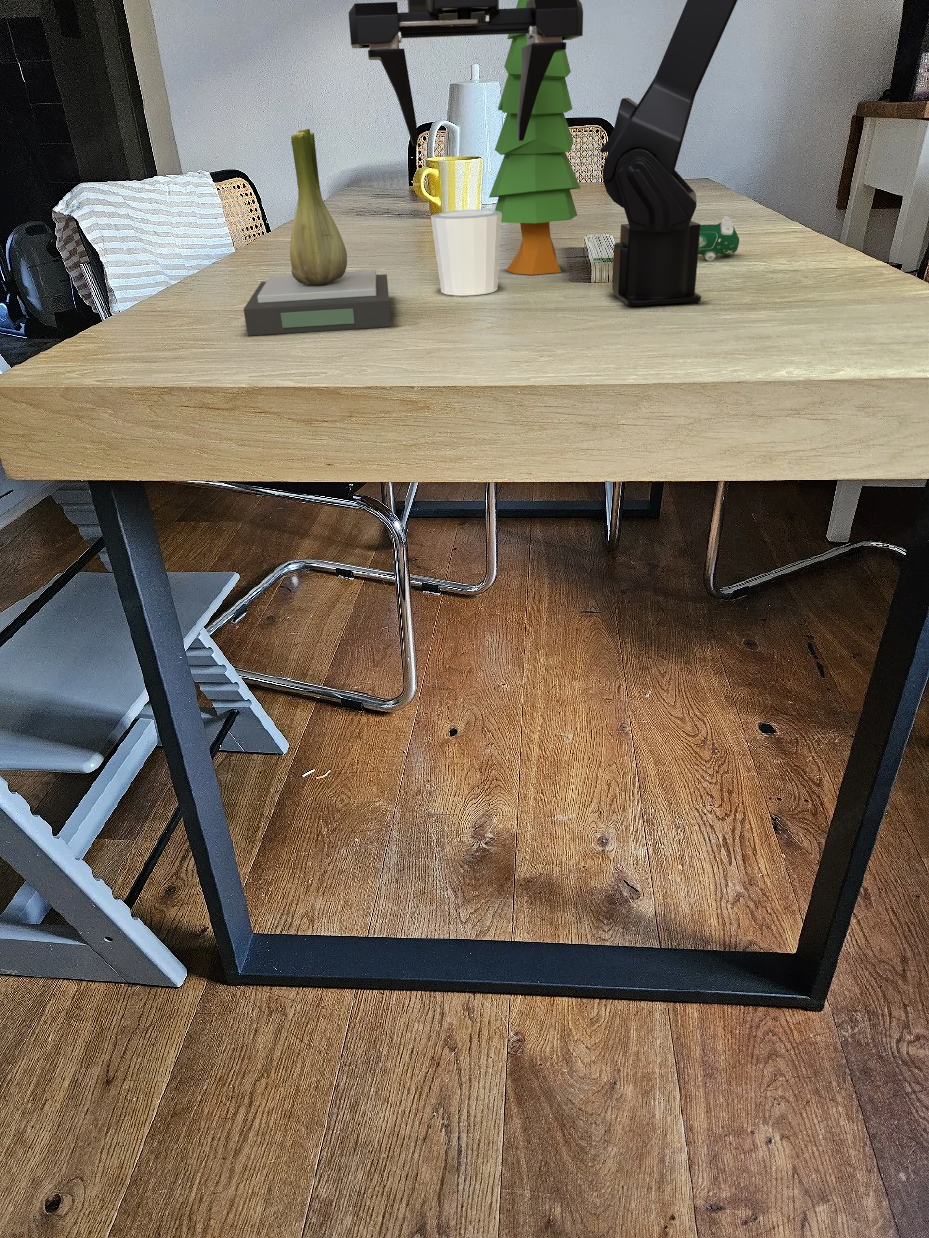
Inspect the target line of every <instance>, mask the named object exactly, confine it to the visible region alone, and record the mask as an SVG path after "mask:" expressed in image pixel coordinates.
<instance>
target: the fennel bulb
mask: <svg viewBox="0 0 929 1238" xmlns="http://www.w3.org/2000/svg"><path fill="white" fill-rule="evenodd" d="M290 136H291V137H290V139H291V140H290V143H291V148H292V154H293V160H294V161H293V162H294V169H295V176H296V183H297V193H298V196H297V197H298V198H297V204H296V209H295V212H294V213H295V214H294V218H293V223H292V228H291V234H290V242H289V244H290V245H289V254H290V255H289V258H290V261H289V262H290V266H291V271H290V272H291V275H293V277H294V278H295V279H296V280H297V281H298V282H299V283H302V284H309V285H314V286H318V285H322V284H326V283H329V282H333V281H335V280H337V279H339V278H341V277H342V276H343V275H344V273H345V272H346V271H347V267H348V266H347V265H348V253H347V249H346V245H345V243H344V240H343V238H342V235H341V233H340V231H339V228H338V227H337V225H336V222H335V220H334V219H333V216H332V214H330V212H329V209H328V207H327V206H326V204H325V202H324V201H325V200H324V199H323V197H322V191H321V185H320V178H319V168H318V159H317V149H316V139H315V133H314V132H311V130H310V128H304V129H300V130H297V132H296V133H293V134H292V135H290Z"/></svg>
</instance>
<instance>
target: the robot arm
mask: <svg viewBox="0 0 929 1238" xmlns="http://www.w3.org/2000/svg"><path fill="white" fill-rule="evenodd" d="M738 1H739V0H686V2H685V5H684V7H683V9H682V12H681V14H680V15H679V16H680V17H679V18H678V22H677V24H676V26H675V28H674V31H673V32H672V36H671V38H670V40H669V43H668V45H667V47H666V50H665V53H664V54H663V57H662V60H661V62H660V64H659V66H658V69H657V70H656V71H657V72H656V73H655V76H654V78H653V80H652V81H651V82H650V84H649V86H648V88H647V89H646V91H645V92H644V94H643V96H642V97H641V99H640V100H639V102H638V103H637V102H636V101H634V100H632V99H631V98H630V97H623V98H621V99H620V103H619V106H618V111H617V113H616V117H615V118H616V119H615V123H614V126H613V129H612V132H611V134H610V136H609V138H608V139H607V140H606V142H605V143H604V144H603V145H602V147H600V149H599V152H600V153H601V154H605V153H607V155H606V157H605V159H604V161H603V166H602V182H603V185H604V189H605V191H606V194H607V195H608V196H609V197H610V199H611V201H613V202H614V203H615V204H617V205H618V206H619V207H621V208H622V209H623V211H624V213H625V216H626V219H627V223H621V224H620V232H619V233H620V236H619V242H615V243H614V244H613V254H612V255H613V257H612V259H613V261H612V279H611V280H612V281H611V282H612V285H611V288H612V289H611V291H612V294H613V295H614V296H615V297H616V298H617V299H619V300H620V301H622V302H623V303H624V304H625V305H627V306H629V307H637V306H653V305H654V306H655V305H667V304H668V305H670V304H687V303H699V302H700V303H701V300H702V295H701V294H699V293H698V292H696V284H697V283H696V282H697V272H698V262H699V261H698V260H699V254H698V249H699V237H700V225H702V224H701V223H698V222H695V221H693V220H692V219H693V216H694V215H695V211H696V209H697V205H698V204H697V193H696V191H695V190H694V189H693V188H692V187H691V186H690V185H689V184H688V182H687V181H686V180H685V179H684V178H683V177H682V175H681V174H679V172H678V171H677V170H676V167H677V162H678V159H679V156H680V152H681V150H682V149H681V148H682V145H683V141H684V138H685V134H686V131H687V126H688V124H689V119H690V116H691V112H692V108H693V105H694V102H695V98H696V95H697V92H698V90H699V88H700V85H701V84H702V82H703V79H704V77H705V74H706V72H707V70H708V68H709V66H710V63H711V61H712V59H713V57H714V55H715V53H716V50H717V49H718V46H719V43H720V41H721V39H722V36H723V34H724V32H725V30H726V28H727V25H728V23H729V21H730V19H731V16H732V15H733V12H734V10H735V8H736V5H737V3H738ZM398 7H399V6H398V1H383V2H382V1H381V2H356V3H355V2H354V3H353V5H352V6H351V8H350V9H349V11H348V26H349V35H350V36H349V37H350V45H351V48H352V49H368V50H367V56H368V60H369V61H380V63H381V65H382V68H383V70H384V71H385V73H386V75H387V78H388V79H389V82H390V84H391V86H392V89H393V90H394V93H395V96H396V98H397V101H398V105H399V108H400V110H401V113H402V116H403V119H404V123H405V125H406V128H407V132H408V134H409V138H410V141H411V144H412V146H414V147H416V146H418V125H417V119H416V113H415V112H416V111H415V107H414V106H415V105H414V100H413V96H412V95H413V93H412V88H411V83H410V75H409V70H408V69H409V68H408V64H407V57H406V50H405V48H404V47H403V48H400V44H402V39H423V38H426V39H427V38H449V37H451V38H453V37H476V36H500V35H508V34H526V38H527V46H524V47H522V48H521V54H522V70H521V82H520V93H519V104H518V116H517V138H518V141H523V140H524V137H525V134H526V130H527V127H528V124H529V120H530V117H531V114H532V110H533V107H534V104H535V101H536V96H537V94H538V91H539V88H540V85H541V83H542V80H543V78H544V76H545V73H546V71H547V68H548V66H549V64H550V61H551V59H552V57H553V54H554V53H556V52H559V51H563V50H566V51H567V42H566V41H571V40H574V39H577V38H580V37H581V38H582V37H583V34H584V8H583V3H582V2H581V0H529V1H528V2H526V8H516V7H514V8H500V0H407V12H406V11H405V12H402V11H401V12H399V8H398ZM487 17H488V20H487ZM562 40H563V42H562Z"/></svg>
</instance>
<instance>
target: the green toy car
mask: <svg viewBox="0 0 929 1238" xmlns="http://www.w3.org/2000/svg"><path fill="white" fill-rule="evenodd" d="M739 245H740V237H739V235H738V233H737V230H736V228H735V226H734V224H733V222H732V219H731V218H730V217H729V216H727V215H726V216H723V217H722V218H721V221H720V222H719V223H717V224H701V225H700V237H699V249H698V255H702V256H703V257H704V259H705V260H706V261H711V262H712V261H713V260H715V258H716V257H717V256H718V255H722V256H726V257H730V256H732V255H734V254H735V253H736V252H737V251H738V248H739Z"/></svg>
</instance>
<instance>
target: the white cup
mask: <svg viewBox="0 0 929 1238" xmlns="http://www.w3.org/2000/svg"><path fill="white" fill-rule="evenodd" d="M501 219H502V212H499V211H495V209H494V210H492V209H459V210H458V209H457V210H456V209H455V210H449V211H442V212H439V213H435V214H431V215H430V222H431V229H432V235H433V242H434V243H433V244H434V249H435V257H436V264H437V271H438V279H439V285H440V286H439V287H440V292H441V293H442V294H443V295H448V296H460V297H461V296H462V297H463V296H479V295H486V294H490V293H494V292H496V291H498V287H499V286H498V285H499V269H500V268H499V267H500V251H501V236H502V235H501V234H502V223H501Z"/></svg>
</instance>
